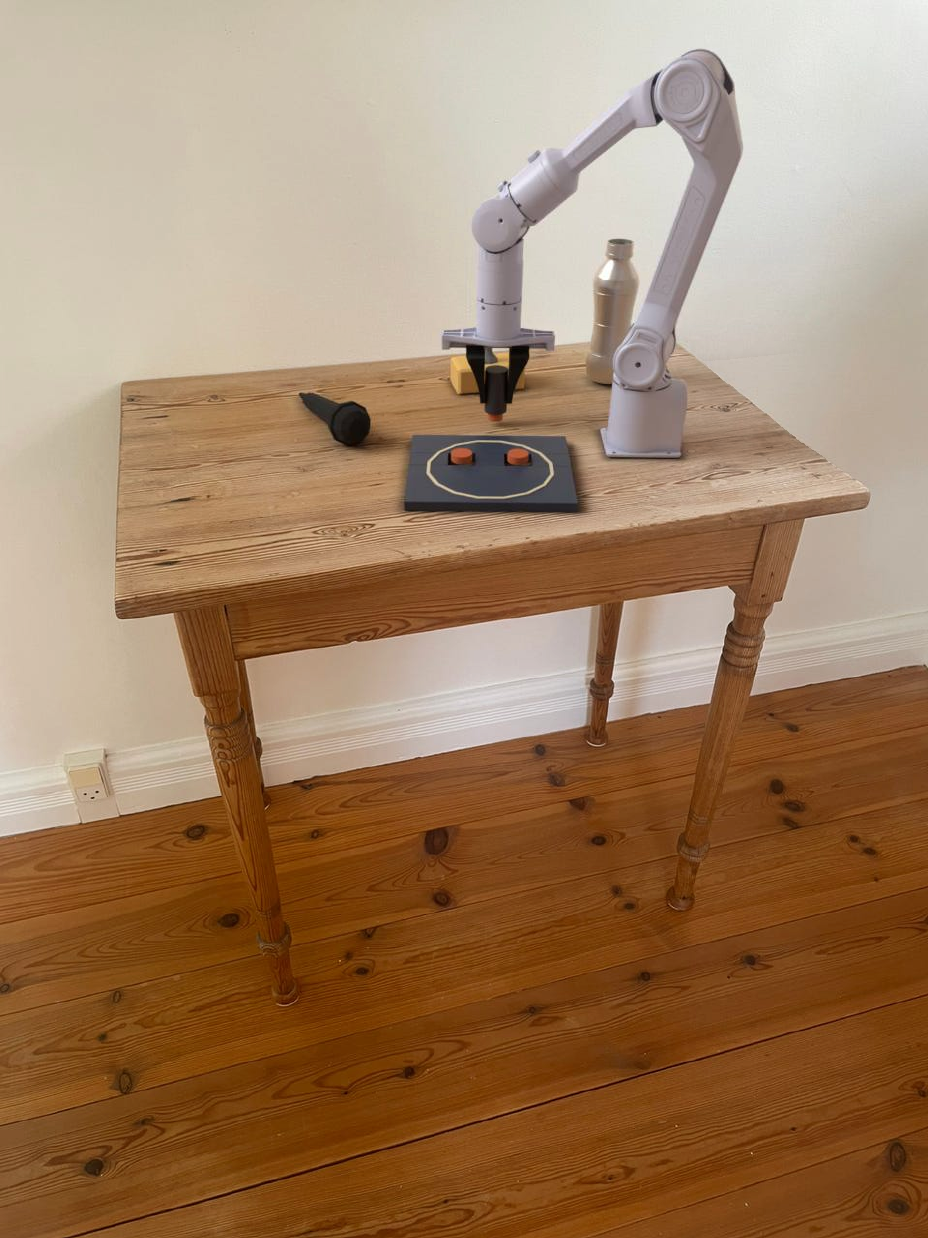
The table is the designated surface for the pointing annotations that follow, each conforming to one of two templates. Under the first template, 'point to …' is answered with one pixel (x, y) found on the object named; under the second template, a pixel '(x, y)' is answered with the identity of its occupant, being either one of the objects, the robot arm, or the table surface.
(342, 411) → the microphone
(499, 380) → the marker
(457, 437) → the face board
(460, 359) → the rubber stamp
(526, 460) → the eye
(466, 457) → the eye
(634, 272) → the plastic bottle
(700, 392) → the table surface
